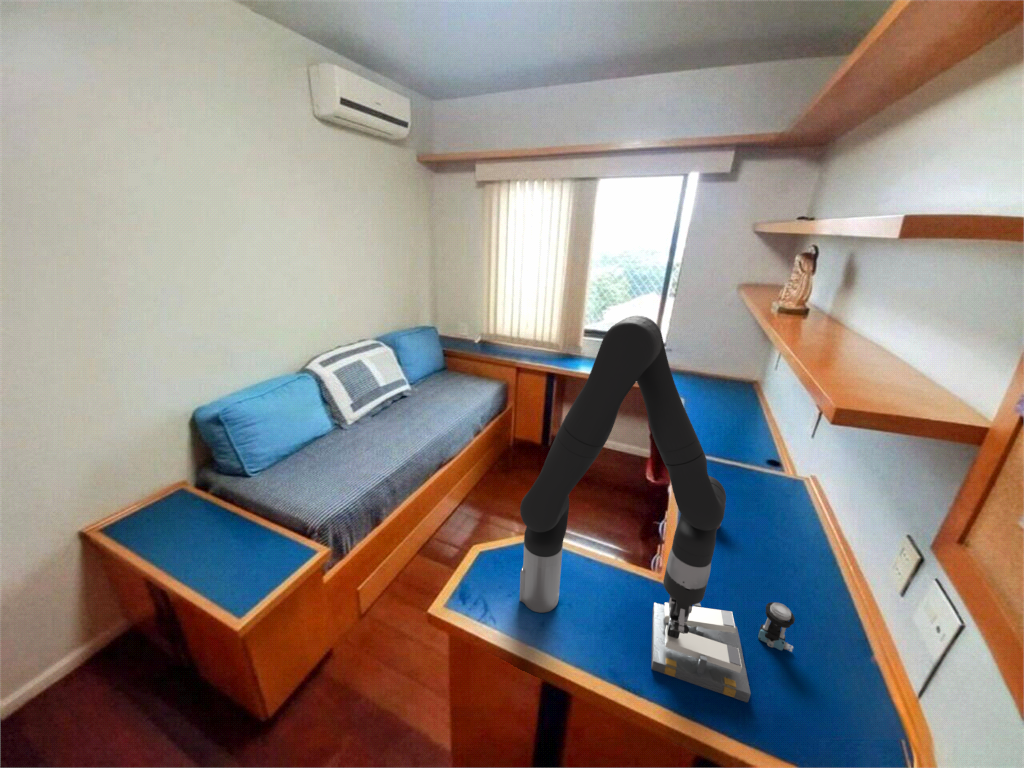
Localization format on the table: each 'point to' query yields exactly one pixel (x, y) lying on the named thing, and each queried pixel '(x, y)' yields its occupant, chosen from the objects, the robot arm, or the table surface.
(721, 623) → the rocker back
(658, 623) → the switch unit
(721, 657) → the rocker front
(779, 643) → the push button
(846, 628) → the table surface
